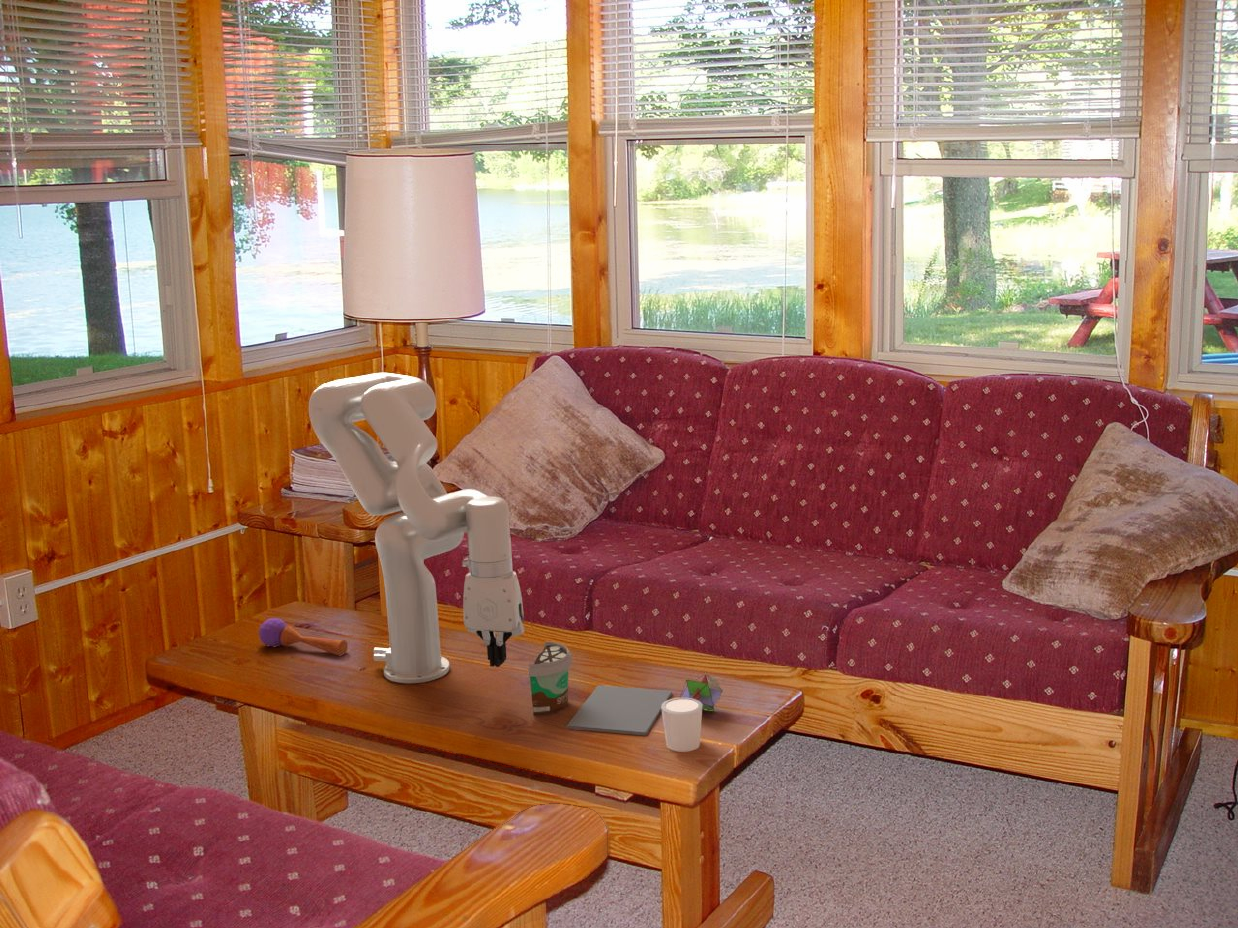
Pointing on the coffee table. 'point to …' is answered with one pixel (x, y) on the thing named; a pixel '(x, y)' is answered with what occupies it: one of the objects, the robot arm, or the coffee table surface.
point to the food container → (550, 679)
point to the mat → (620, 710)
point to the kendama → (296, 637)
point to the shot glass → (682, 723)
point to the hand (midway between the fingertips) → (497, 663)
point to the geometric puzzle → (703, 692)
